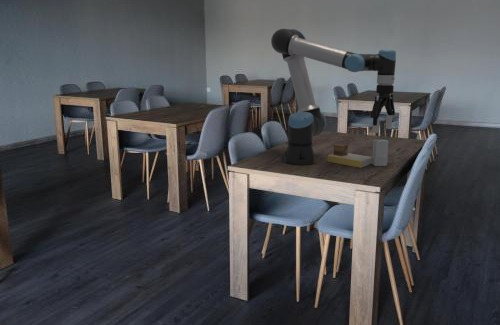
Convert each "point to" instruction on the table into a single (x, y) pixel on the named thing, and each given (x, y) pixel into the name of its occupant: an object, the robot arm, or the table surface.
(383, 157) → the skincare box
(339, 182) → the table surface
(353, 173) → the table surface
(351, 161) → the dock
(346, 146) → the brown wooden cube
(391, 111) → the robot arm
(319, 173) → the table surface
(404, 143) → the table surface
